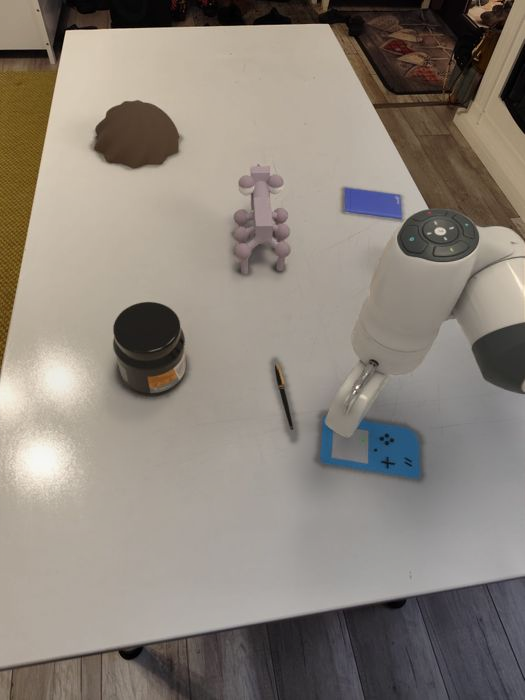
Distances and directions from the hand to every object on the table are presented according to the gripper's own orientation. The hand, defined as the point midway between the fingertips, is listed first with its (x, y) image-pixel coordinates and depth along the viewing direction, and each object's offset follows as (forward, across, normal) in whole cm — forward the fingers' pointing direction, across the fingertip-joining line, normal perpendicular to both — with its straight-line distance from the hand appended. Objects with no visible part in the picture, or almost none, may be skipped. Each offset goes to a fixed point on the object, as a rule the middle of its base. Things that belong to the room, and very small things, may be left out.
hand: (363, 397), depth 71 cm
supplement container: (+12, -9, +31) cm, 34 cm away
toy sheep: (+12, +27, +35) cm, 46 cm away
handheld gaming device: (+11, 0, -4) cm, 12 cm away
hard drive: (+12, +52, +22) cm, 58 cm away
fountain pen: (+12, -1, +11) cm, 16 cm away
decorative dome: (+12, +36, +75) cm, 84 cm away
